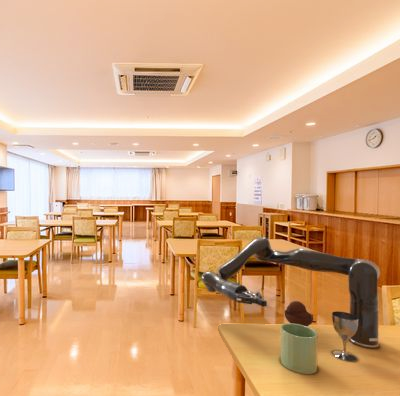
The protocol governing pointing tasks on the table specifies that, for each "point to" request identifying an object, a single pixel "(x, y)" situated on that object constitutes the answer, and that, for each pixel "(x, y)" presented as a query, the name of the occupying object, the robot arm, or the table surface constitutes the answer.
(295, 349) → the tumbler
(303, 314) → the ice cream bowl
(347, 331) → the wine glass
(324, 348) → the table surface
